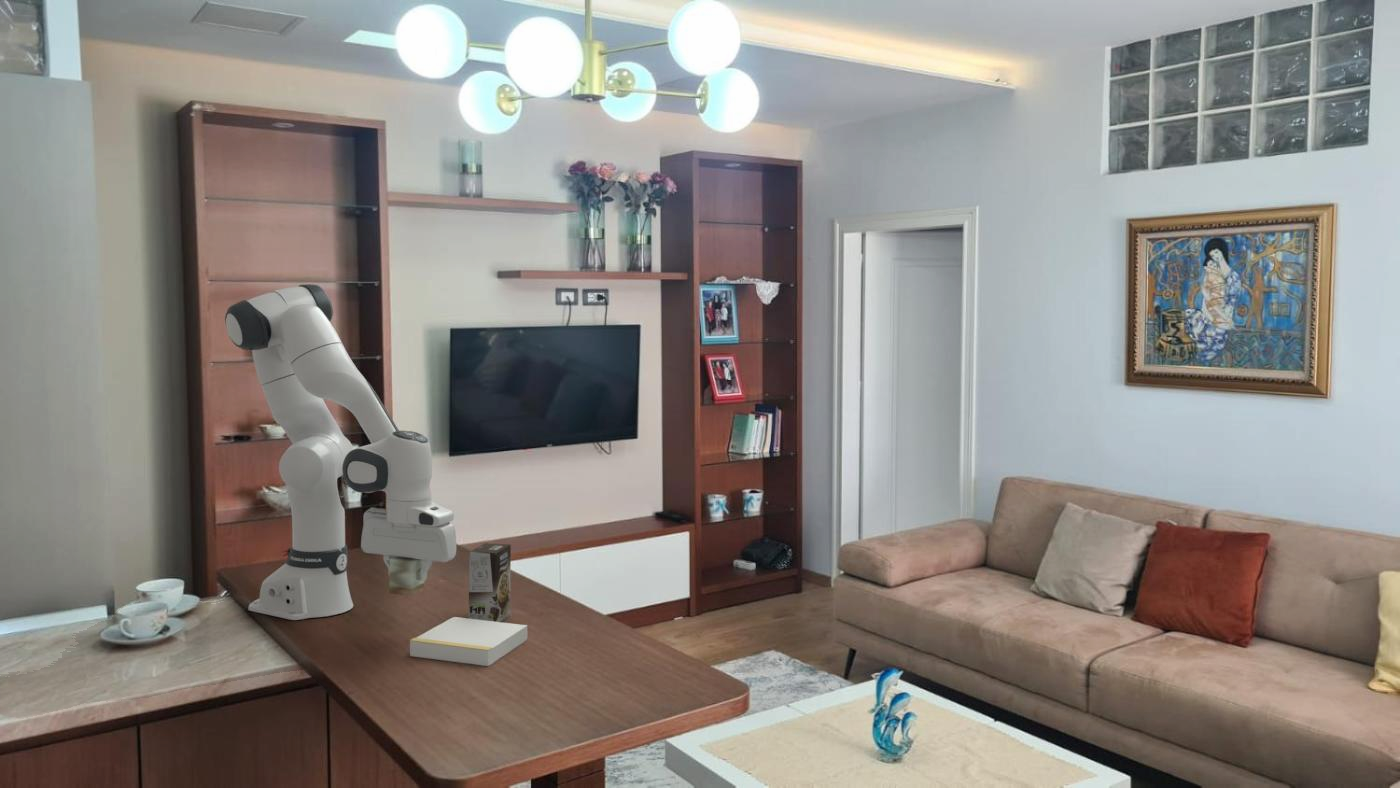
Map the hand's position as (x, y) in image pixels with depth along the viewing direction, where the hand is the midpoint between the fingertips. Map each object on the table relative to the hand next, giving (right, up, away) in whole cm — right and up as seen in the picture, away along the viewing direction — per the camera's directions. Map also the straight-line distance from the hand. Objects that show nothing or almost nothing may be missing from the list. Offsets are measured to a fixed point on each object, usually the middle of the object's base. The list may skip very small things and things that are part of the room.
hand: (407, 578), depth 219 cm
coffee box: (+14, -12, +16) cm, 24 cm away
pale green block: (0, -3, 0) cm, 3 cm away
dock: (+13, -13, -3) cm, 19 cm away
